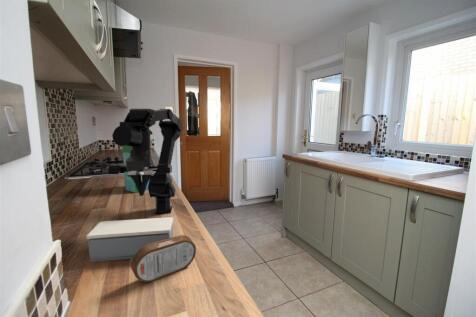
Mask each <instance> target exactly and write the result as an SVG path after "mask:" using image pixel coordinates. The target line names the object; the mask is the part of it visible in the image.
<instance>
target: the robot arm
mask: <svg viewBox="0 0 476 317" xmlns="http://www.w3.org/2000/svg"><path fill="white" fill-rule="evenodd" d="M156 122H158V125H157V126H159V129H160V132H161V135H162V137H163V138H162V144H161V149H160V154H159V158H158V164H157V165H152V164H153V158H152V155H151V154H152V153H151V152H152V150H151V136H152V135H153V132H152V130H151V129H150V128H151V127H153V126H155V124H156ZM182 132H183V124H182V121H181V118H179V117H178V116H177V115H176V114H174V112H173V110H172V109H170V108H159V109H152V108H130V109H129V112H127V114H126V116H125V118H124V120H123V121H119V126H117V127H115V129H114V130H113V132H112V133H111V134H112V139H113V142H114V143H115V144H116V145H118V146H120V147H122V146H130V147H131V152H130V157H128V159H127V160H126V165H124V164H111V165H110V164H109V165H108V166H107V167H106V175H118V174H124V172H128V175H127V177H131V178H132V179H133V181H134V183H135V185H136V187H137V190H138V192H137V193H138V195H139V197H143V196H144V195H145V192H146V190H145V189H146V186H147V184H148V182H149V184H148V189H147V190H148V194H149V197H150V198H155V201H154V202H155V209H154V211H153V214H156V215H157V214H170V213H172V210H173V205H171V202H172V201H171V199H172V198H174V197H175V195H176V188H175V187H174V185H173V180H172V178H171V175H170V174H171V173H173V165H172V159H173V155H174V150H175V143H176V141H177V140H178V139H179V138H180V137H181V134H182ZM145 167H148V168H145ZM139 172H143V173H144V174H143V175H141V174H139ZM141 176H142V178H141Z"/></svg>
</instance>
